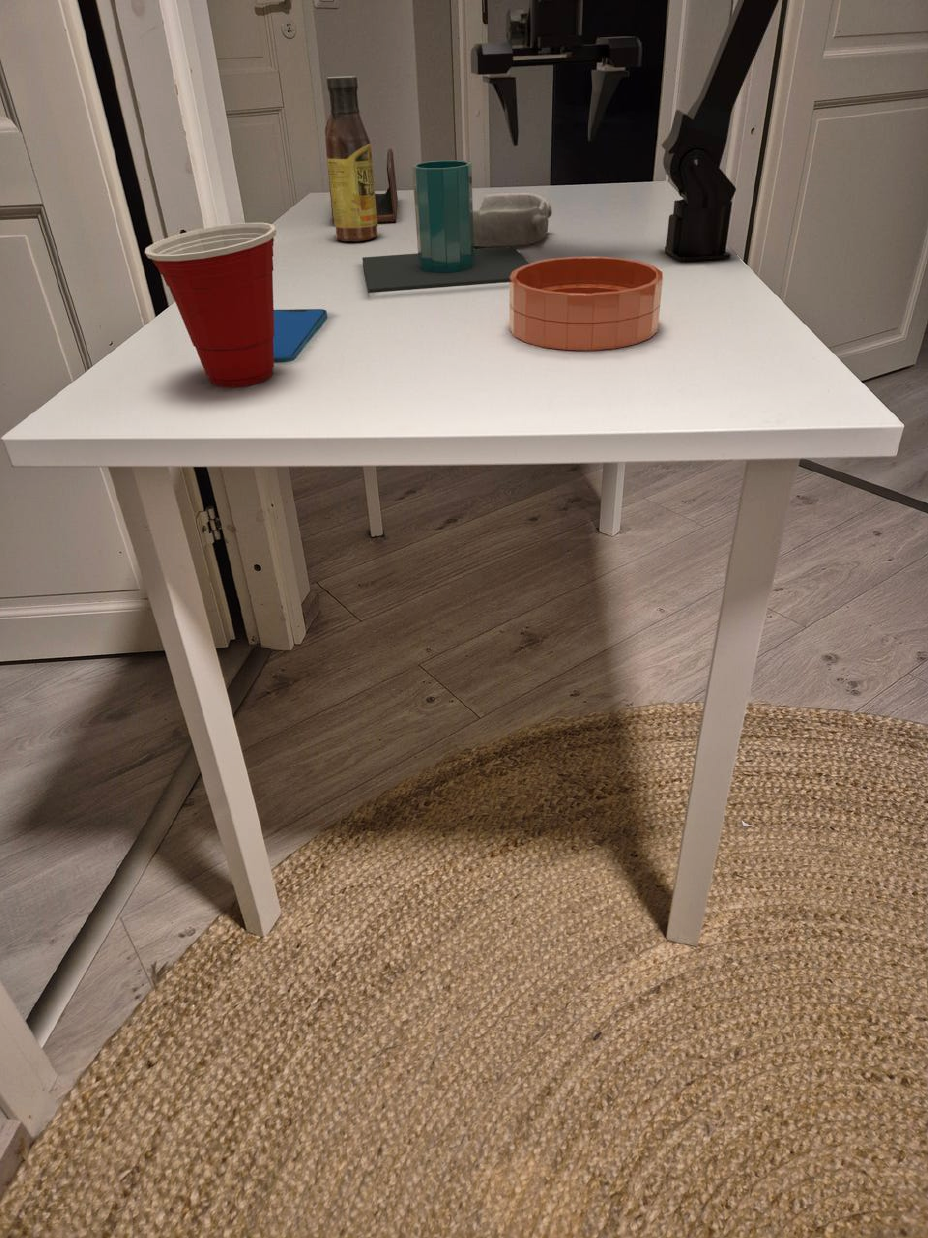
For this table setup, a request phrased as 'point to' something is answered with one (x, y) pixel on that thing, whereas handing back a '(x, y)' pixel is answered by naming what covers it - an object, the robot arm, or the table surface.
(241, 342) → the plastic cup
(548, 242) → the table surface
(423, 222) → the tumbler
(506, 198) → the dish
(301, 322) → the smartphone
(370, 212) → the sauce bottle
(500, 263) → the mat
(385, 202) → the letter holder
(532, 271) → the bowl
